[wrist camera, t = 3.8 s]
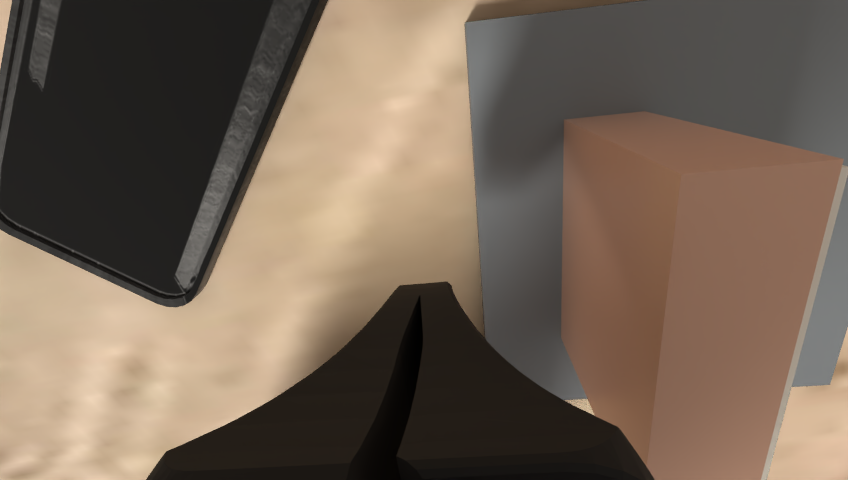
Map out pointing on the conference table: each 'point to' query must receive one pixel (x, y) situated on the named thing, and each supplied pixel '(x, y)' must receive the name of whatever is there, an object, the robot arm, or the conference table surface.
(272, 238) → the conference table surface
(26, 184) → the phone
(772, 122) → the mat
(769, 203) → the light brown rectangular block
